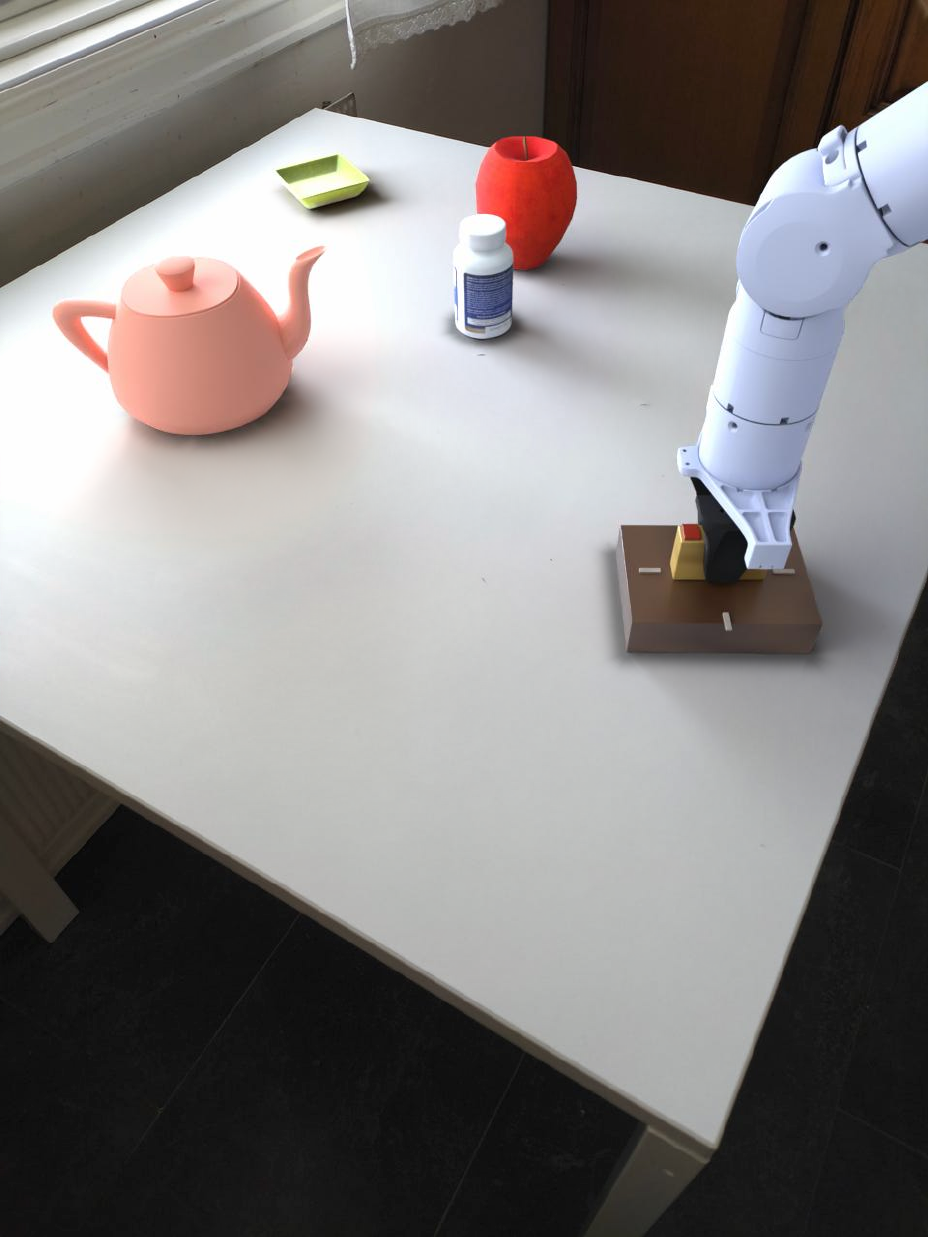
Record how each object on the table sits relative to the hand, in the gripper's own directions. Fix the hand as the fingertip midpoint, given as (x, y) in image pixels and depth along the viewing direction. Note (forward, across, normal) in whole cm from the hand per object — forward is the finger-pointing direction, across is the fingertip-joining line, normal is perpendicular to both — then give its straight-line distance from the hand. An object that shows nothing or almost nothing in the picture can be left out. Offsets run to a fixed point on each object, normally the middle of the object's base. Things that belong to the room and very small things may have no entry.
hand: (717, 566), depth 59 cm
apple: (+4, -47, -12) cm, 49 cm away
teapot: (+4, -24, -39) cm, 46 cm away
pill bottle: (+4, -35, -16) cm, 39 cm away
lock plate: (+3, 0, 0) cm, 3 cm away
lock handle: (0, 0, 0) cm, 0 cm away
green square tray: (+4, -63, -34) cm, 72 cm away
